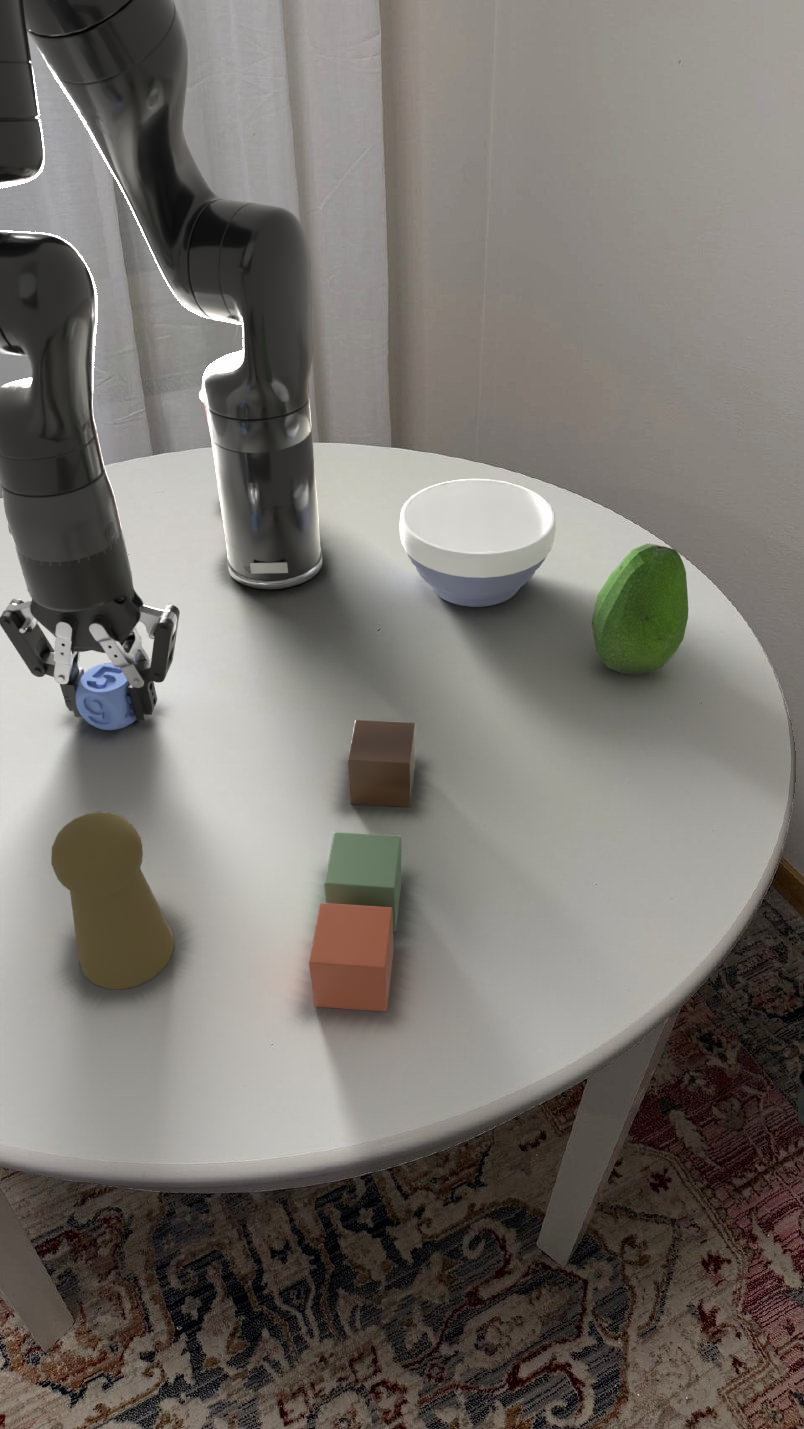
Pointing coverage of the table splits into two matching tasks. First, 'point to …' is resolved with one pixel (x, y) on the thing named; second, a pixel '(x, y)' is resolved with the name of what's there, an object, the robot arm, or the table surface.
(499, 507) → the bowl
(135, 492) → the table surface
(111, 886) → the tan ball-topped figurine
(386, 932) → the terracotta block
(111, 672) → the decorative dice
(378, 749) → the walnut block
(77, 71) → the robot arm
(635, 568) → the avocado
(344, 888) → the sage block
